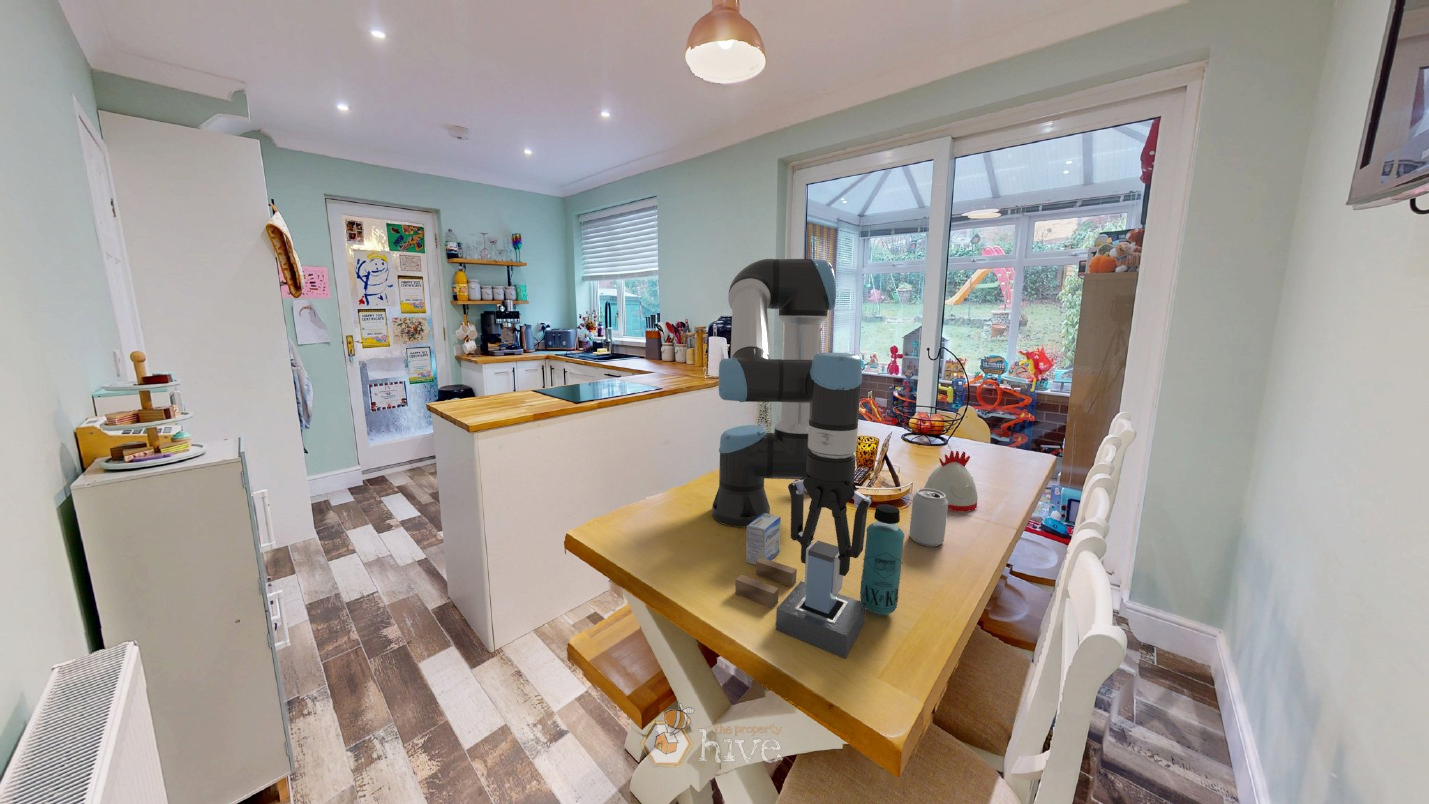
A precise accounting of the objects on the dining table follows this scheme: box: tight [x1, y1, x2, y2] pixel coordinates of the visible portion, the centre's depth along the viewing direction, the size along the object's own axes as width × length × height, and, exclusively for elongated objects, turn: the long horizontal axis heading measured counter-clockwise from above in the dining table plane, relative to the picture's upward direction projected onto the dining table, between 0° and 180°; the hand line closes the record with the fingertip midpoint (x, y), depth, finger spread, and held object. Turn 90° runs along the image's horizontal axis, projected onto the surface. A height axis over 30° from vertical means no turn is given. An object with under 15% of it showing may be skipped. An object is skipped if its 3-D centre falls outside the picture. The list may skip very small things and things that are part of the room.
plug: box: [805, 540, 839, 614], centre depth 79 cm, size 4×4×10 cm
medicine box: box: [745, 513, 782, 566], centre depth 103 cm, size 8×4×9 cm, turn 148°
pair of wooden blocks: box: [734, 557, 798, 609], centre depth 92 cm, size 8×10×3 cm
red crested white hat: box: [924, 450, 979, 512], centre depth 134 cm, size 14×14×15 cm
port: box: [775, 580, 867, 659], centre depth 81 cm, size 12×10×4 cm
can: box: [909, 488, 949, 547], centre depth 112 cm, size 8×8×12 cm
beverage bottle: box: [859, 503, 905, 615], centre depth 84 cm, size 6×7×20 cm
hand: (823, 585), depth 80 cm, fingers closed on plug, 4 cm apart
